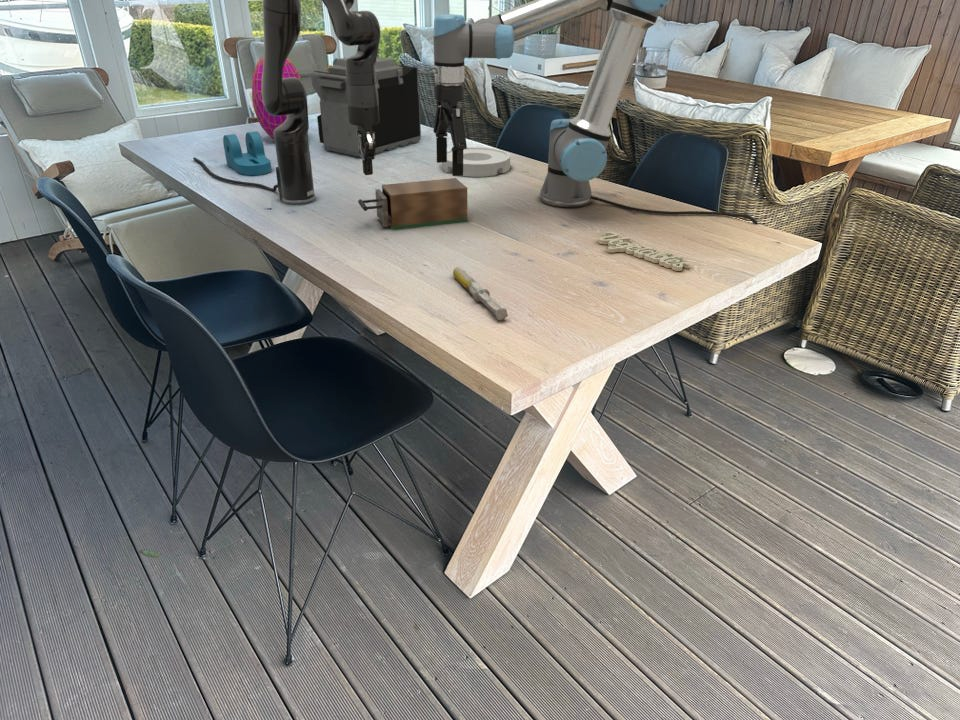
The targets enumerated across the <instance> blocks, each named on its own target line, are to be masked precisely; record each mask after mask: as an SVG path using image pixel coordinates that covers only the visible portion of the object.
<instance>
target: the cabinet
mask: <svg viewBox="0 0 960 720" xmlns="http://www.w3.org/2000/svg"><path fill="white" fill-rule="evenodd" d="M381 192H382V193H383V194H384V195H385V192H386V193H387V194H388V195H389V197H390V204H391V220H390V219H389V217H388V221H389V227H390V229H391V230H392V231H393V230H402V229H404V230H405V229H413V228H421V227H430V226H439V225H446V224H456V223H466V222H468V187H467V186H466V185H465V184H464V183H462V182H461V181H460V180H459V179H457V178H456V177H453V178H452V177H451V178H450V177H449V178H441V179H430V180H419V181H418V180H417V181H409V182H398V183H397V182H396V183H386V184H381ZM385 197H386V196H385Z"/></svg>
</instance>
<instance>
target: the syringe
mask: <svg viewBox="0 0 960 720" xmlns="http://www.w3.org/2000/svg"><path fill="white" fill-rule="evenodd" d="M452 274H453V277H454V279H455V280H457V281H458V282H459V283H460V285H462V287H464V289H466V290H467V291H468V293H470V295H471V296H472V298H473V300H474V302H477V303H478V302H480V303H482V304H483V305H484V306H485V307H486V308H487V309H488V310H489V311H490V312H491V313H492V314H493V315H494V316H495V317H496V320H497V321H503V320H504V319H506V318H507V317H509V314H508V310H507V308H506V307H502V306H501V305H500V303H498V302H497V301H496V300H494V299H493V298H492V297H491V296H490V295H491V293H490V290H488V289H486V288H483V287H482V286H481V285H480V284H479V283H478V282H477V281H476V280H474V278H473V277H471V275H469V274H468V273H467V272H466V270H465V269H464V268H463V267H462V266H456V267H454V268H453V271H452Z"/></svg>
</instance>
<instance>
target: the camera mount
mask: <svg viewBox="0 0 960 720" xmlns="http://www.w3.org/2000/svg"><path fill="white" fill-rule="evenodd" d="M222 140H223V141H222V143H223V149H224V150H223V151H224V156H225V161H226V165H227V166H228V167H230V168H231V169H232V170H234V171H236V172H237V173H238V174H239V175H244V176H260V175H265V174H268V173H271V172H272V164H271V159H270V158H268V157H267V156H266V153H265V145H264V141H263V139H262V136H261V134H260V132H258V131H247V132H246V133H245V146H246V152H243V151H242V150H243V149H242V146H241V142H240V140H239V138H238V135H236V134H235V133H231V134H224V135H223V138H222Z"/></svg>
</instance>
